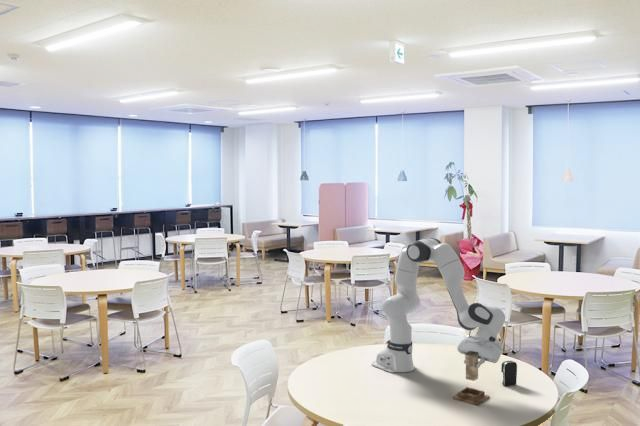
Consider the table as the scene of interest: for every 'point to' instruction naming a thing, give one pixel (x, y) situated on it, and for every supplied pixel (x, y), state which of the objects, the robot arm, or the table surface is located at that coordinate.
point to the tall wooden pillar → (471, 365)
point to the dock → (471, 396)
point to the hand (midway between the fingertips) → (471, 365)
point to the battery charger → (509, 373)
